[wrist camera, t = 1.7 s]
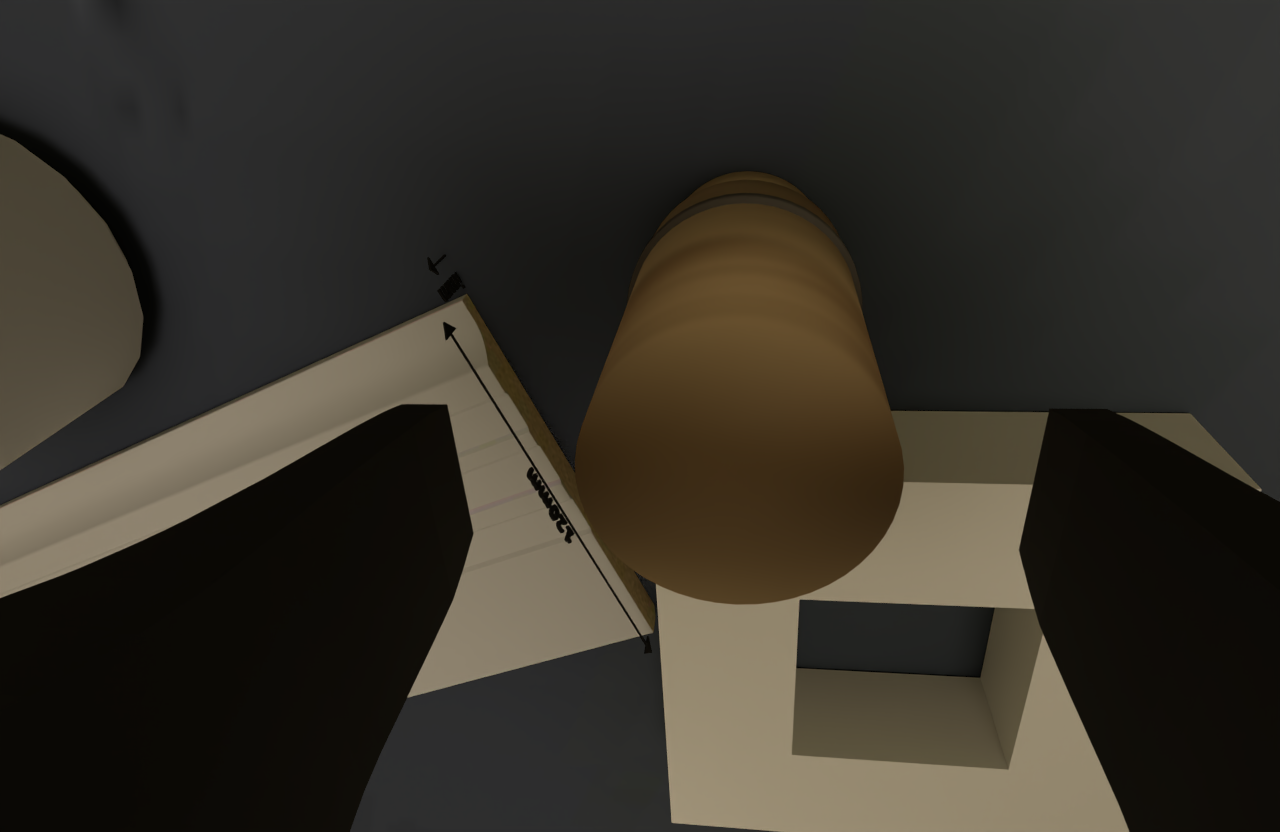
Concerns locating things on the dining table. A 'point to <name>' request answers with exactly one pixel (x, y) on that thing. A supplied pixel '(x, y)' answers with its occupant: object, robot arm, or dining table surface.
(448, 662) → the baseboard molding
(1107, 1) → the dining table surface
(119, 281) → the can
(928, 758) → the socket board
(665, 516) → the oak peg
